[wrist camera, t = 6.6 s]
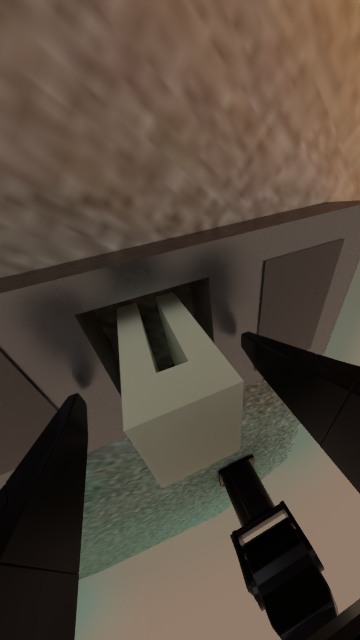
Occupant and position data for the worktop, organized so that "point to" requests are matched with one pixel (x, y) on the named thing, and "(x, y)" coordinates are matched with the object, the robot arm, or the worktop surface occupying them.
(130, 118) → the worktop surface
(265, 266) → the grey slotted tray
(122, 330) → the beige slotted block
